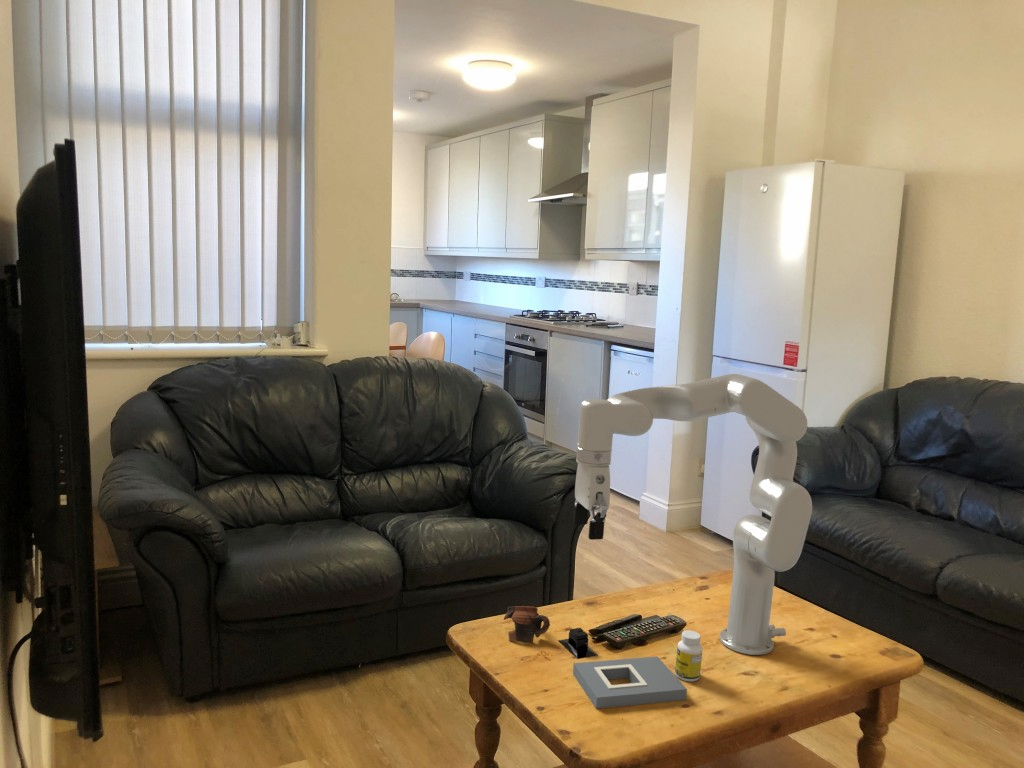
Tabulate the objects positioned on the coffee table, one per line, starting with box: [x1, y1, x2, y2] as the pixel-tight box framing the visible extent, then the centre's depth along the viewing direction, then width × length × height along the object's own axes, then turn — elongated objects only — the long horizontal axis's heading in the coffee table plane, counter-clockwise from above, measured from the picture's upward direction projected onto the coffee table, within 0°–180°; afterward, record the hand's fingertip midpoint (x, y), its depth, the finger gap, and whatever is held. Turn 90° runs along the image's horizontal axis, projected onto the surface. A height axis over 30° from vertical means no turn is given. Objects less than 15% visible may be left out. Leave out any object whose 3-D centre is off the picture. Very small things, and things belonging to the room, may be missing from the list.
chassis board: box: [572, 655, 688, 710], centre depth 170 cm, size 20×14×3 cm
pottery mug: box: [503, 605, 551, 644], centre depth 191 cm, size 12×10×8 cm
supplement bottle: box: [674, 630, 703, 682], centre depth 175 cm, size 5×5×10 cm
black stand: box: [557, 627, 599, 660], centre depth 186 cm, size 12×7×5 cm, turn 25°
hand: (587, 531), depth 177 cm, fingers open, 9 cm apart
